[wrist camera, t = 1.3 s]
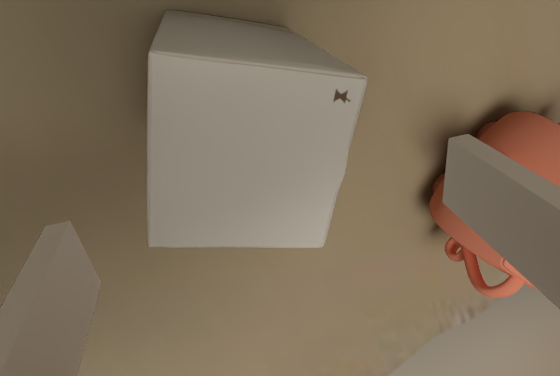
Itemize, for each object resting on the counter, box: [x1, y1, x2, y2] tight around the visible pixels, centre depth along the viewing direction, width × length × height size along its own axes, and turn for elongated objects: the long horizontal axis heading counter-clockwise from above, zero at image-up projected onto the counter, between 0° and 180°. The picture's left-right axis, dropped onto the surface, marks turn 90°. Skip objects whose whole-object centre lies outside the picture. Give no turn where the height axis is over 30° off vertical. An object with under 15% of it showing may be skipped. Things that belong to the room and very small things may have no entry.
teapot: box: [429, 112, 560, 298], centre depth 34 cm, size 15×17×13 cm
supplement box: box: [147, 10, 367, 248], centre depth 23 cm, size 9×9×15 cm
